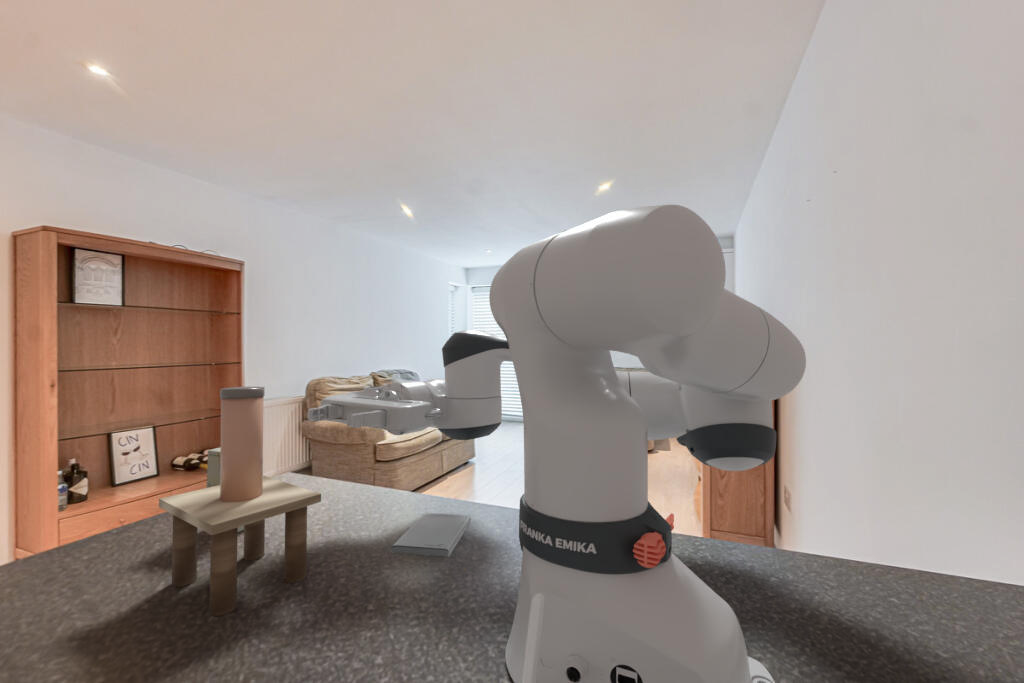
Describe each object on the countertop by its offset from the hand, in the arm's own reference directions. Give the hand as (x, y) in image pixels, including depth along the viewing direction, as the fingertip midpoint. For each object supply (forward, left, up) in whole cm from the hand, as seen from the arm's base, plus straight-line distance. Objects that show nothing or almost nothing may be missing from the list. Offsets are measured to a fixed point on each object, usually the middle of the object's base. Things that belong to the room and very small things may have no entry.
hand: (329, 418), depth 64 cm
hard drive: (-10, -11, -19) cm, 24 cm away
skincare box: (+18, +5, -18) cm, 26 cm away
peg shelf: (0, +12, -18) cm, 21 cm away
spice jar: (0, +12, -8) cm, 14 cm away
